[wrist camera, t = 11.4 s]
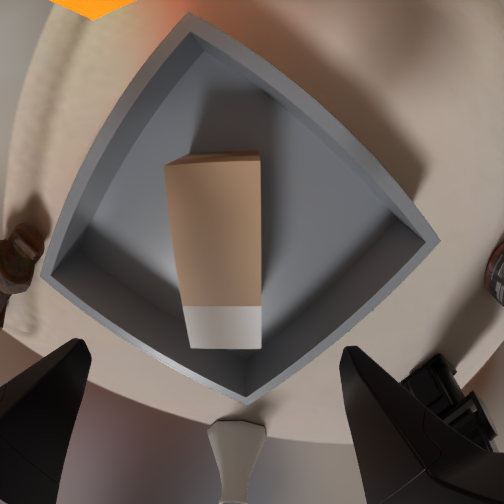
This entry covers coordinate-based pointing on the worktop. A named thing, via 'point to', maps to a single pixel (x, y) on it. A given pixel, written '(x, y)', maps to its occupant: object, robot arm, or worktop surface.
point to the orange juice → (92, 6)
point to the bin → (272, 213)
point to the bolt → (18, 262)
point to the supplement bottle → (496, 275)
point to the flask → (235, 456)
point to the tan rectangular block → (217, 245)
